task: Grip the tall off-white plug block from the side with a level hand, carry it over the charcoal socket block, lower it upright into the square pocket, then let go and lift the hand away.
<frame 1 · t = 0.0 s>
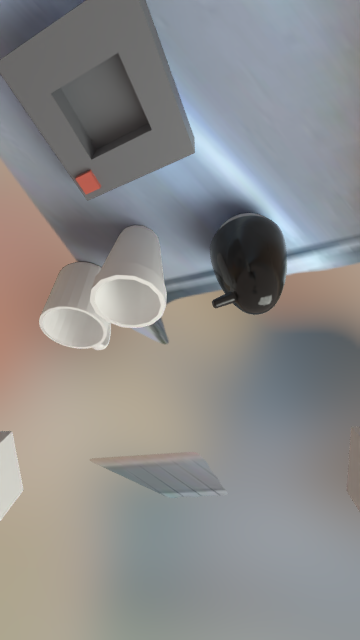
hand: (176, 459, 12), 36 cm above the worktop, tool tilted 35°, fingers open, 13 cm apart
foam cup: (139, 242, 47), on the worktop
mug: (93, 288, 54), on the worktop
socket: (110, 99, 33), on the worktop
pump dispenser: (242, 233, 45), on the worktop
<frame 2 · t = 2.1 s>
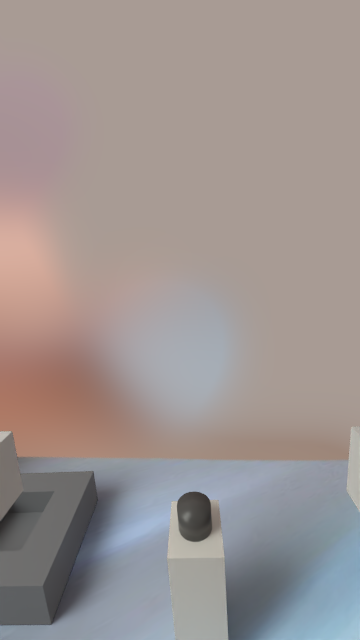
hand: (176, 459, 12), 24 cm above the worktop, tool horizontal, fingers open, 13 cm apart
socket: (18, 551, 35), on the worktop
plug: (202, 631, 26), on the worktop
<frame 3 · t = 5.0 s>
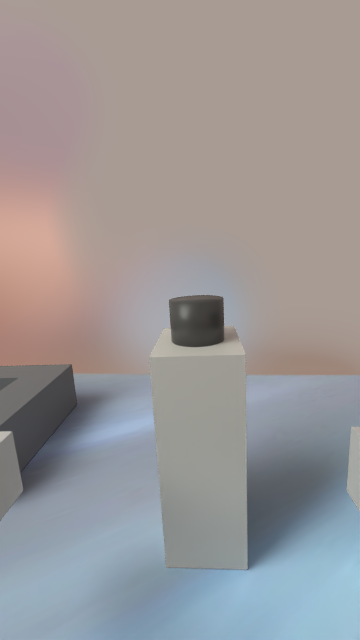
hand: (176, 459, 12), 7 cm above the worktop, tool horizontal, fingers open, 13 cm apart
plug: (205, 524, 17), on the worktop
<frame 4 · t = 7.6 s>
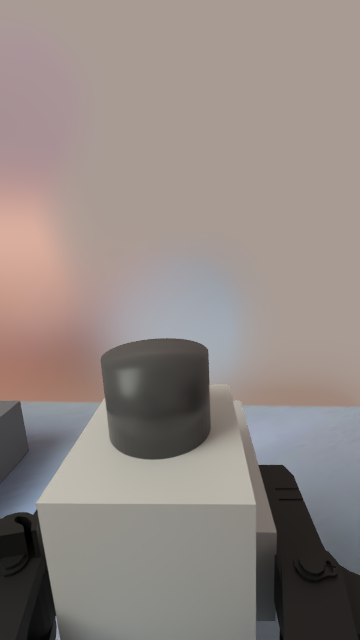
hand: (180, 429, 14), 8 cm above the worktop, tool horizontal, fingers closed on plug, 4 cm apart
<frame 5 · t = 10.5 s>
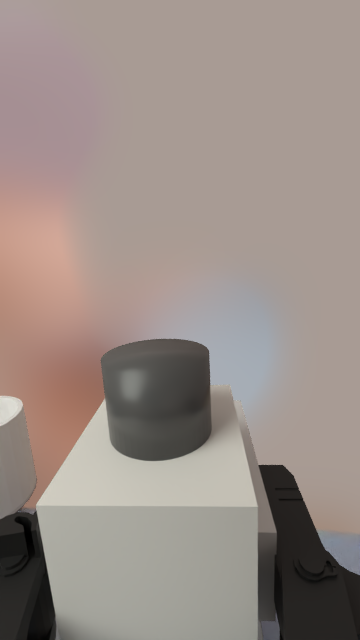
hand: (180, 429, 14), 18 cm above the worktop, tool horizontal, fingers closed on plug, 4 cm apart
when the fingers open (10 cm above the worktop, at t = 13.4 s): plug drops 1 cm, resting on socket.
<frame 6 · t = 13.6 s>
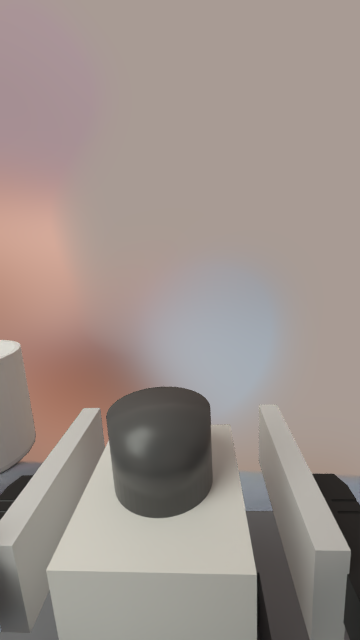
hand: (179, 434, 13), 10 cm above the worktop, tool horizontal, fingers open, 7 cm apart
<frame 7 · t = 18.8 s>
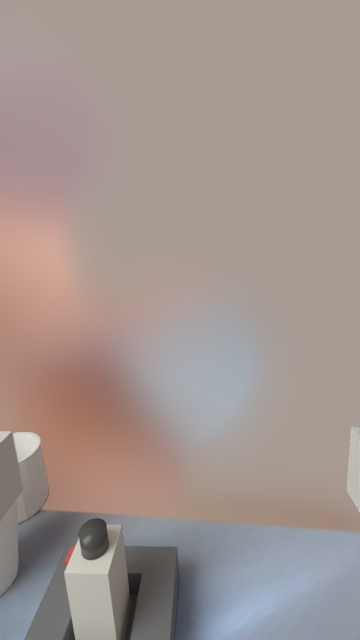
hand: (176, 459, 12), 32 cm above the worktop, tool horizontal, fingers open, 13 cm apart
mug: (10, 504, 52), on the worktop
plug: (107, 633, 32), point 1 cm above the worktop, touching socket
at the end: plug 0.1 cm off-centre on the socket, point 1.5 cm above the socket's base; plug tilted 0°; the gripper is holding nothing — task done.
